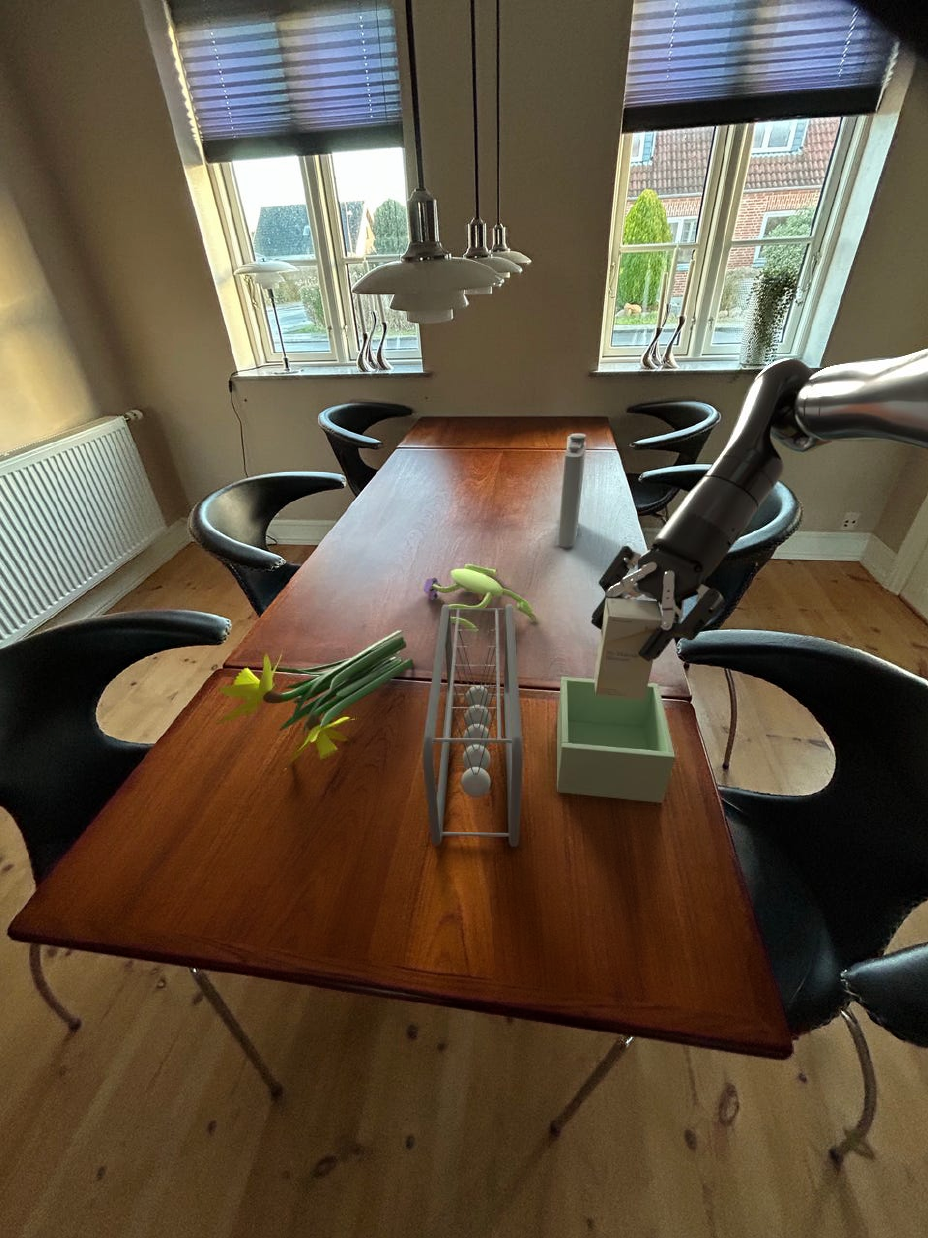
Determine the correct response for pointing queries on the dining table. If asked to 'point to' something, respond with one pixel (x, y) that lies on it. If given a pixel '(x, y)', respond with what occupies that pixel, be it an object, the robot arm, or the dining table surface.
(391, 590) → the dining table surface
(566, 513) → the flask
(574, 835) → the dining table surface
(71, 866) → the dining table surface
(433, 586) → the figurine
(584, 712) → the open square storage box
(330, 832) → the dining table surface
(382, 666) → the daffodil flowers
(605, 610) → the cosmetic box
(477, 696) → the newton's cradle
